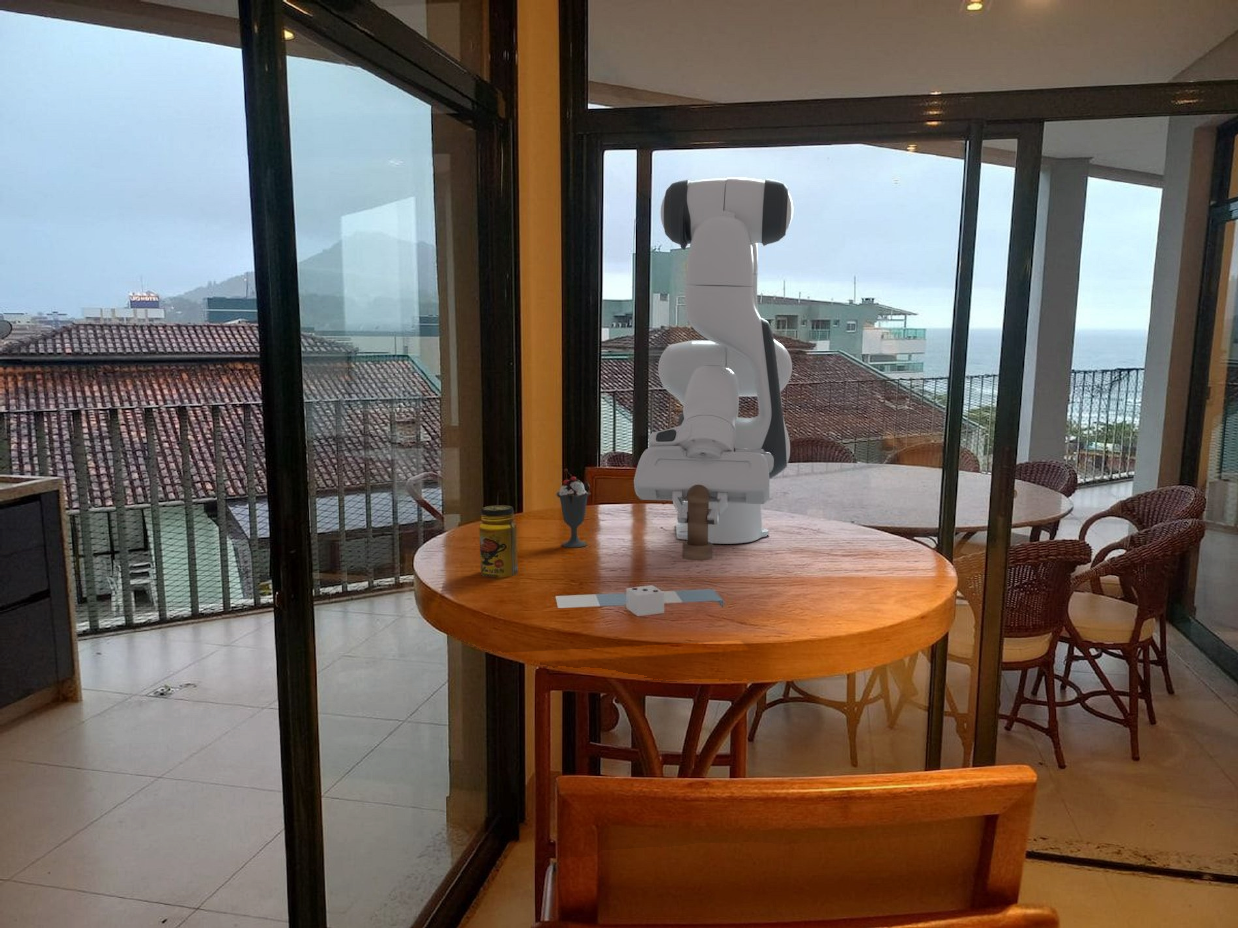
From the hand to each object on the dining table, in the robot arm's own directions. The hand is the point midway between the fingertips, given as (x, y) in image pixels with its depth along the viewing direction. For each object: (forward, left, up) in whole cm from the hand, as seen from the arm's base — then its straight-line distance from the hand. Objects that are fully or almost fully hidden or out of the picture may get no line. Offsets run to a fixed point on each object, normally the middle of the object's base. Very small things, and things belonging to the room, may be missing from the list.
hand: (697, 521), depth 125 cm
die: (+4, -8, -13) cm, 16 cm away
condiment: (-21, -28, -13) cm, 37 cm away
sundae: (-43, -14, -13) cm, 47 cm away
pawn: (-1, 0, -5) cm, 5 cm away
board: (-1, -8, -12) cm, 15 cm away
